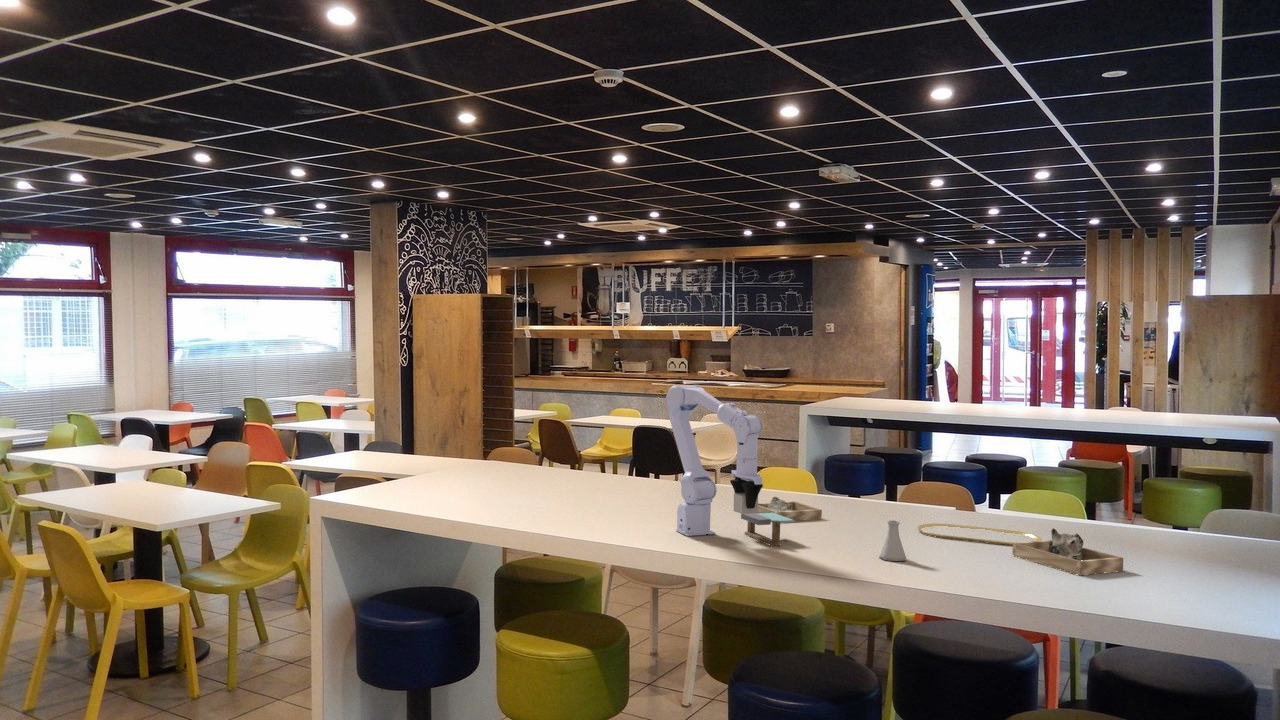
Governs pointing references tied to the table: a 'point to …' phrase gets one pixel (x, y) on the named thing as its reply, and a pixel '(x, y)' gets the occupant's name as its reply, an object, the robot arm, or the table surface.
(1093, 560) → the shallow wooden tray
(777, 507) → the rock sample
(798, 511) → the square wooden tray
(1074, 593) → the table surface
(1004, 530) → the serving platter
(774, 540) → the frame
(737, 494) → the light grey cube
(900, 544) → the flask
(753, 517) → the trapdoor
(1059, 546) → the grey lumpy piece
